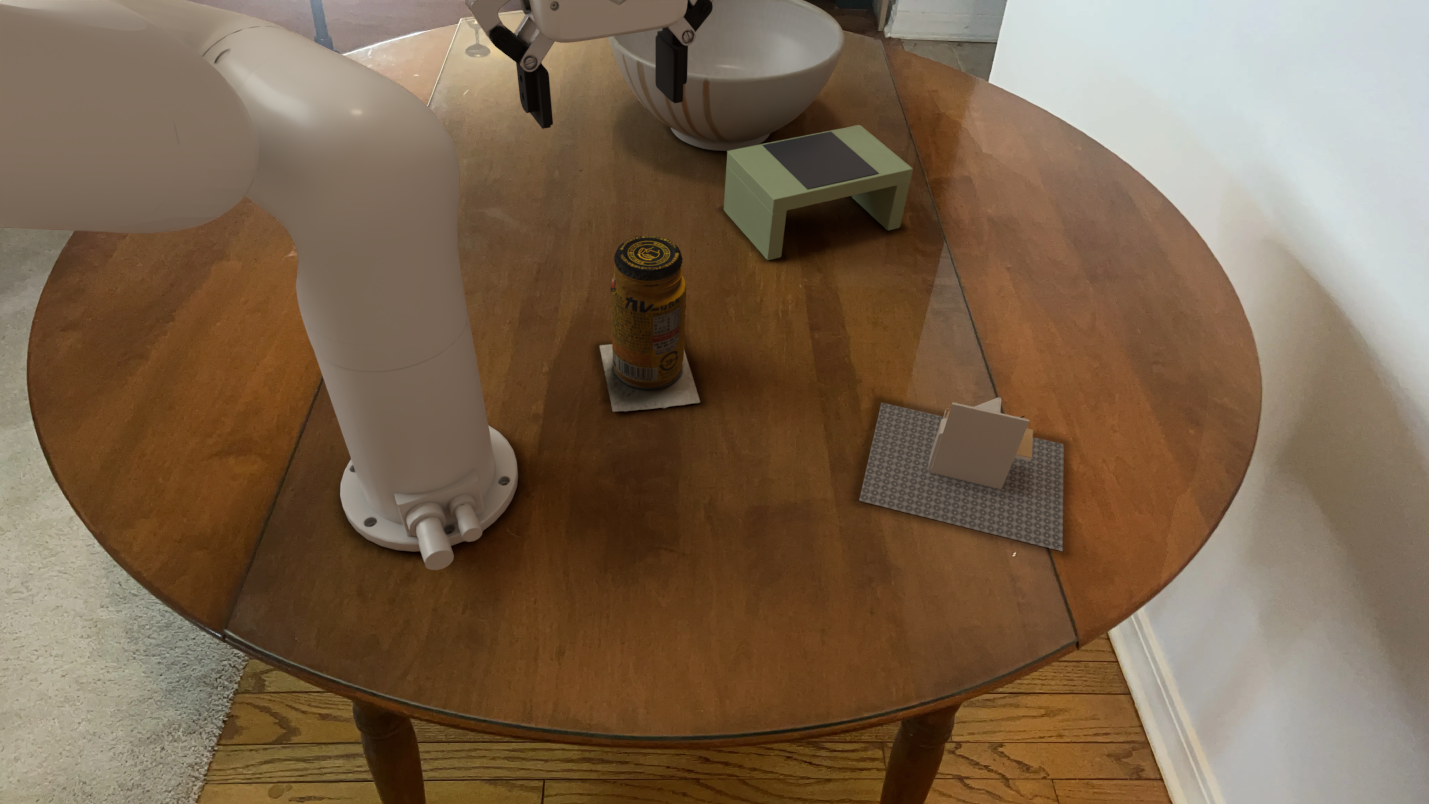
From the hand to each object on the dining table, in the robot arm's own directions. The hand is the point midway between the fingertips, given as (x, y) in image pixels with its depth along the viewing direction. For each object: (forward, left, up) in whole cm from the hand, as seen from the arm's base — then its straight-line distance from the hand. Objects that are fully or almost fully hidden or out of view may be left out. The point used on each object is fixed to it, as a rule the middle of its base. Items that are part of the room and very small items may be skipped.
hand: (606, 107), depth 63 cm
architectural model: (-24, -20, -23) cm, 39 cm away
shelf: (+12, -27, -23) cm, 38 cm away
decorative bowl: (+34, -27, -23) cm, 50 cm away
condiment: (-4, -2, -23) cm, 23 cm away
